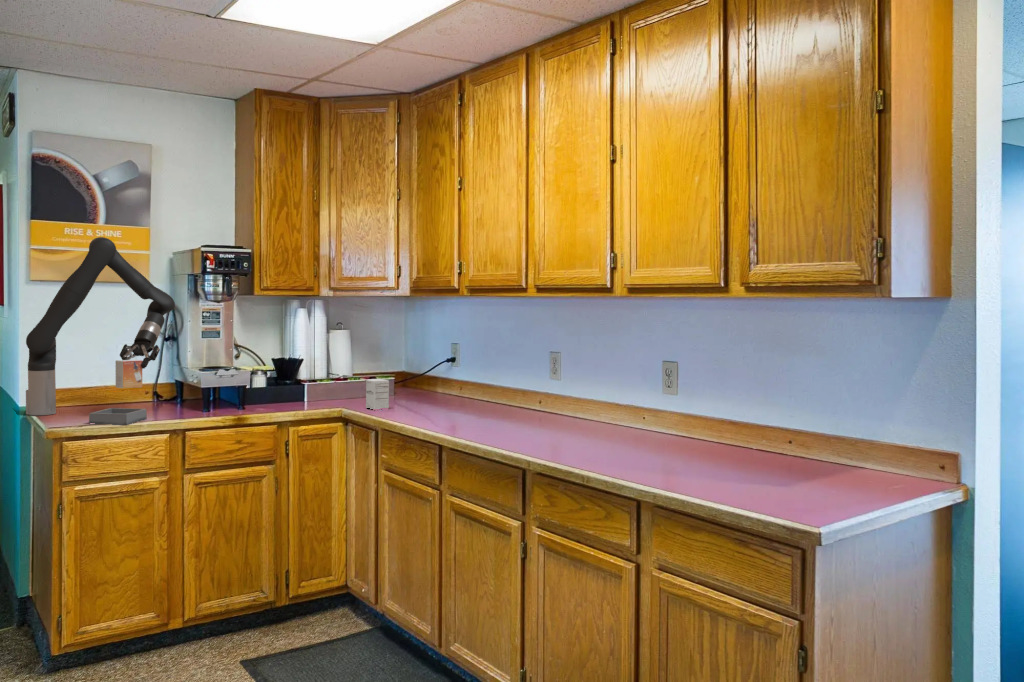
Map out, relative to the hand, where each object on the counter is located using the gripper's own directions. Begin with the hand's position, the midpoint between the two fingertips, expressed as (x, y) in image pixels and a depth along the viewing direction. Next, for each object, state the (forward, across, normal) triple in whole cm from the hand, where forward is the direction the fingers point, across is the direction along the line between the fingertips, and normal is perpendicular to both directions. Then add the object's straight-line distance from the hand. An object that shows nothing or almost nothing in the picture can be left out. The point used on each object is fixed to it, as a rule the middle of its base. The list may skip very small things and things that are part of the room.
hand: (132, 366), depth 311 cm
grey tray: (+23, +2, +4) cm, 24 cm away
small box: (+7, -1, +5) cm, 8 cm away
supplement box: (-10, +88, +37) cm, 96 cm away
